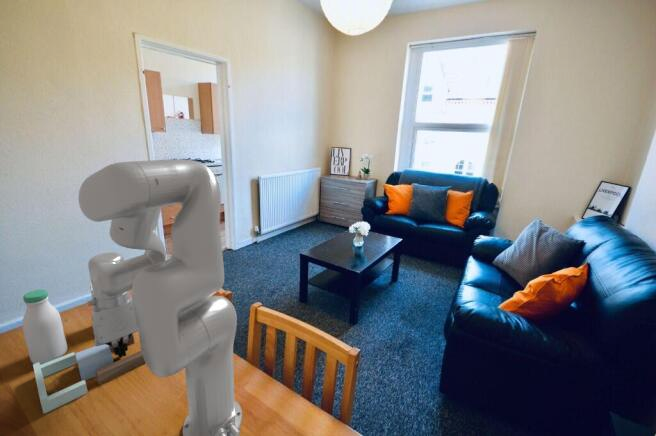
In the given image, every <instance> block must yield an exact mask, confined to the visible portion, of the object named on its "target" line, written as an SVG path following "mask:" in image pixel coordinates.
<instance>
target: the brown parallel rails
mask: <svg viewBox="0 0 656 436" xmlns="http://www.w3.org/2000/svg"><path fill="white" fill-rule="evenodd" d="M119 339H120V338H118V339H116V340H118V342H119ZM134 344H135V339H134V333H133V334H132V335H131V337H130V338H129V339H128V342H127V347H128V346H131V345H134ZM94 346H95V345H93V346H92V347H94ZM109 348H110V350H111V353H112V354H113V353H114V349H113V346H110V345H109ZM144 364H146V363H145V360H144V358H143V354H142V350H140V351H138V352H135V353H133V354H131V355H128V356H125V357H124V358H120V359H119V360H116V361H115V362H114V363H112V364H110V365H108V366H105V367H103V368H101V369H99V370H96V376H95V377H96V379H97V380H96V381H97V382H98V385H102V384H104V383H106V382H109V381H111V380H112V379H114V378H116V377H118V376H120V375H123V374H124V373H125V374H126V373H127V372H129V371H131V370H133V369H135V368H137V367H139V366H141V365H144Z"/></svg>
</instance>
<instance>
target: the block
mask: <svg viewBox="0 0 656 436" xmlns="http://www.w3.org/2000/svg"><path fill="white" fill-rule="evenodd" d="M93 346H94V347H93ZM93 346H92V347H88V348H86V349H84V350H81V351H77V352H74V354H75V357H76V362H77V366H78V370H79V375H80V378H81V379H80V381H83V380H85V381H88V380H90V379H92V378H95V377H97V376H96V370H99V369H101V368H103V367H105V366H108V365H110V364H112V363H115V362H114V357H113V352H112V353H111V350H110V348H109V345H106V344H104V345H101V346H95V345H93Z"/></svg>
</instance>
